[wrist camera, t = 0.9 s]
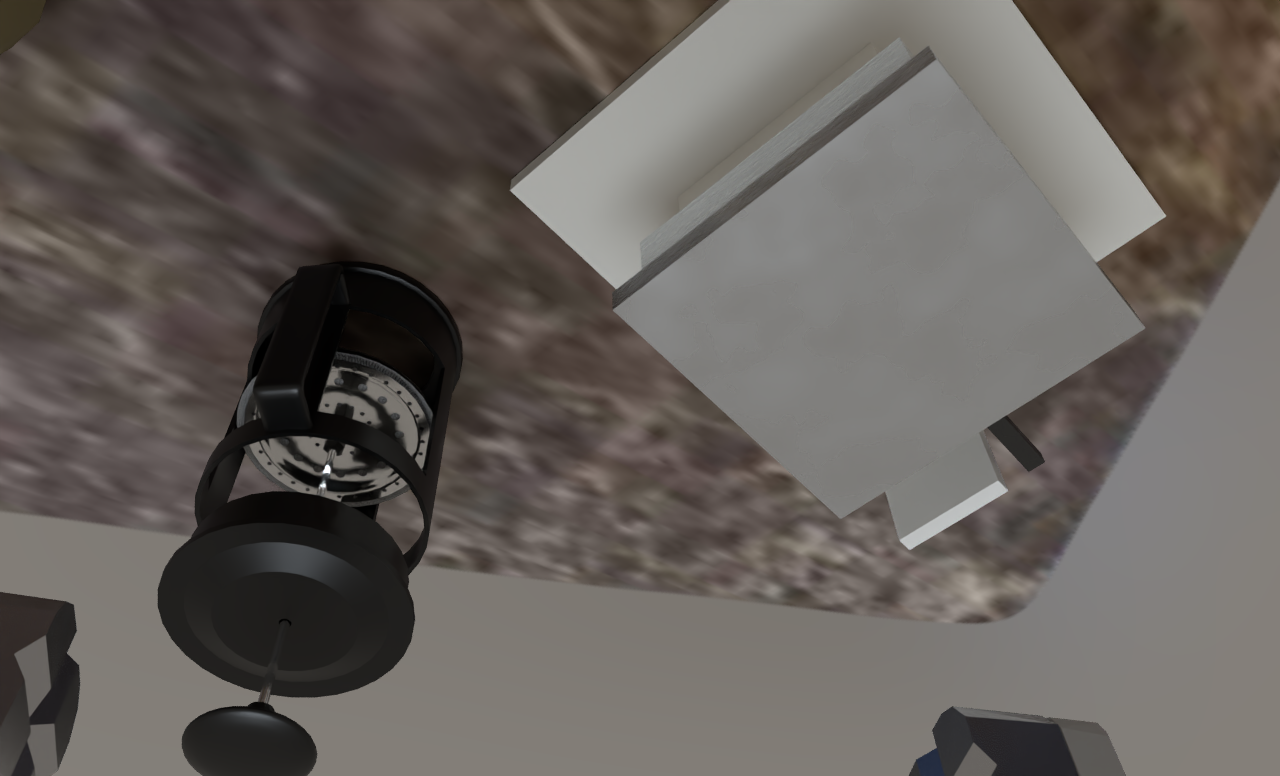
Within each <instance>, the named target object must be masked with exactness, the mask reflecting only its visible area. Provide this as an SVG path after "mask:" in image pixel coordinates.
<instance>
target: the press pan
mask: <svg viewBox="0 0 1280 776" xmlns="http://www.w3.org/2000/svg"><path fill="white" fill-rule="evenodd" d="M640 248H641V267H642V270H641V271H639V272H638V273H637V274H635V275H634V276H633V277H632V278H630V279H629V280H628V281H626V282H625V283H624V284H623V285H621V286H620V287H619V288H618V289H616V290H615V291H614V292H612V297H613V311H614V312H615V313H616V314H618V315H619V316H620V317H621V318H622V319H623V320H624V321H625V322H626V323H627V324H628V325H630V326H631V327H632V328H633V329H634V330H635V331H636V332H637V333H638V334H639V335H640V336H642V337H643V338H644V339H645V340H646V341H647V342H648V343H649V344H650V345H651V346H652V347H654V348H655V349H656V350H657V351H658V352H659V353H660V354H661V355H662V356H663V357H664V358H666V359H667V360H668V361H669V362H670V363H671V364H672V365H673V366H674V367H675V368H676V369H678V370H679V371H680V372H681V373H682V374H683V375H684V376H685V377H686V378H687V379H688V380H690V381H691V382H692V383H693V384H694V385H695V386H696V387H697V388H698V389H699V390H700V391H702V392H703V393H704V394H705V395H706V396H707V397H708V398H709V399H710V400H711V401H712V402H714V403H715V404H716V405H717V406H718V407H719V408H720V409H721V410H722V411H723V412H724V413H726V414H727V415H728V416H729V417H730V418H731V419H732V420H733V421H734V422H735V423H736V424H738V425H739V426H740V427H741V428H742V429H743V430H744V431H745V432H746V433H747V434H748V435H749V436H751V437H752V438H753V439H754V440H755V441H756V442H757V443H758V444H759V445H760V446H761V447H763V448H764V449H765V450H766V451H767V452H768V453H769V454H770V455H771V456H772V457H773V458H775V459H776V460H777V461H778V462H779V463H780V464H781V465H782V466H783V467H784V468H785V469H787V470H788V471H789V472H790V473H791V474H792V475H793V476H794V477H795V478H796V479H797V480H799V481H800V482H801V483H802V484H803V485H804V486H805V487H806V488H807V489H808V490H809V491H811V492H812V493H813V494H814V495H815V496H816V497H817V498H818V499H819V500H820V501H821V502H823V503H824V504H825V505H826V506H827V507H828V508H829V509H830V510H831V511H832V512H833V513H835V514H836V515H837V516H838V517H839V518H840V519H842V518H843V517H845V516H846V515H848V514H850V513H851V512H853V511H854V510H856V509H858V508H859V507H861V506H862V505H864V504H866V503H867V502H869V501H870V500H872V499H874V498H875V497H877V496H878V495H880V494H882V493H883V492H885V491H886V490H888V489H889V488H891V487H893V486H894V485H896V484H897V483H899V482H901V481H902V480H904V479H905V478H907V477H909V476H910V475H912V474H913V473H915V472H917V471H918V470H920V469H921V468H923V467H925V466H926V465H928V464H929V463H931V462H933V461H934V460H936V459H937V458H939V457H941V456H942V455H944V454H945V453H947V452H949V451H950V450H952V449H953V448H955V447H957V446H958V445H960V444H961V443H963V442H965V441H966V440H968V439H969V438H971V437H973V436H974V435H976V434H977V433H979V432H981V431H982V430H984V429H985V428H988V429H989V430H990V431H991V432H992V433H993V434H994V435H995V436H996V437H997V438H998V439H999V440H1000V442H1001V443H1002V444H1003V445H1004V446H1005V447H1006V448H1007V449H1008V450H1009V451H1010V452H1011V453H1012V454H1013V456H1014V457H1015V458H1016V459H1017V460H1018V461H1019V462H1020V463H1021V464H1022V465H1023V466H1024V467H1025V468H1026V469H1027V471H1028V472H1029V471H1031V470H1033V469H1034V468H1036V467H1038V466H1039V465H1041V464H1043V463H1044V462H1045V461H1044V459H1043V457H1042V454H1041V453H1040V452H1039V450H1038V449H1037V448H1036V447H1035V446H1034V445H1033V444H1032V443H1031V442H1030V441H1029V439H1028V438H1027V437H1026V436H1025V435H1024V434H1023V433H1022V432H1021V431H1020V430H1019V428H1018V427H1017V426H1016V425H1015V424H1014V423H1013V422H1012V421H1011V420H1010V419H1009V418H1008V416H1007V415H1008V414H1009V413H1011V412H1012V411H1014V410H1016V409H1017V408H1019V407H1020V406H1022V405H1024V404H1025V403H1027V402H1028V401H1030V400H1032V399H1033V398H1035V397H1036V396H1038V395H1040V394H1041V393H1043V392H1044V391H1046V390H1048V389H1049V388H1051V387H1052V386H1054V385H1056V384H1057V383H1059V382H1060V381H1062V380H1064V379H1065V378H1067V377H1068V376H1070V375H1072V374H1073V373H1075V372H1076V371H1078V370H1080V369H1081V368H1083V367H1084V366H1086V365H1087V364H1089V363H1091V362H1092V361H1094V360H1095V359H1097V358H1099V357H1100V356H1102V355H1103V354H1105V353H1107V352H1108V351H1110V350H1111V349H1113V348H1115V347H1116V346H1118V345H1119V344H1121V343H1123V342H1124V341H1126V340H1127V339H1129V338H1131V337H1132V336H1134V335H1135V334H1137V333H1139V332H1140V331H1142V330H1143V329H1145V327H1144V325H1143V324H1142V322H1141V321H1140V319H1139V317H1138V316H1137V314H1136V313H1135V311H1134V310H1133V309H1132V307H1131V306H1130V305H1129V303H1128V302H1127V301H1126V300H1125V298H1124V297H1123V296H1122V294H1121V293H1120V292H1119V291H1118V289H1117V288H1116V287H1115V285H1114V284H1113V283H1112V282H1111V280H1110V279H1109V278H1108V276H1107V275H1106V274H1105V272H1104V271H1103V270H1102V269H1101V267H1100V266H1099V265H1098V263H1097V262H1096V261H1095V260H1094V258H1093V257H1092V256H1091V254H1090V253H1089V252H1088V251H1087V249H1086V248H1085V247H1084V245H1083V244H1082V243H1081V242H1080V240H1079V239H1078V238H1077V236H1076V235H1075V234H1074V233H1073V231H1072V230H1071V229H1070V227H1069V226H1068V225H1067V223H1066V222H1065V221H1064V220H1063V218H1062V217H1061V216H1060V214H1059V213H1058V212H1057V211H1056V209H1055V208H1054V207H1053V205H1052V204H1051V203H1050V202H1049V200H1048V199H1047V198H1046V196H1045V195H1044V194H1043V193H1042V191H1041V190H1040V189H1039V187H1038V186H1037V185H1036V183H1035V182H1034V181H1033V180H1032V178H1031V177H1030V176H1029V174H1028V173H1027V172H1026V171H1025V169H1024V168H1023V167H1022V165H1021V164H1020V163H1019V162H1018V160H1017V159H1016V158H1015V156H1014V155H1013V154H1012V153H1011V151H1010V150H1009V149H1008V147H1007V146H1006V145H1005V143H1004V142H1003V141H1002V140H1001V138H1000V137H999V136H998V134H997V133H996V132H995V131H994V129H993V128H992V127H991V125H990V124H989V123H988V122H987V120H986V119H985V118H984V116H983V115H982V114H981V113H980V111H979V110H978V109H977V107H976V106H975V105H974V104H973V102H972V101H971V100H970V98H969V97H968V96H967V94H966V93H965V92H964V91H963V89H962V88H961V87H960V85H959V84H958V83H957V82H956V80H955V79H954V78H953V76H952V75H951V74H950V73H949V71H948V70H947V69H946V67H945V66H944V65H943V64H942V62H941V61H940V60H939V58H938V57H937V56H936V54H935V53H934V52H933V51H932V49H931V48H930V47H929V45H928V46H927V47H926V48H924V49H923V50H922V51H920V52H919V53H918V54H917V55H915V56H914V55H913V54H912V53H911V51H910V50H909V49H908V48H907V46H906V45H905V44H904V43H903V41H902V40H901V39H900V37H899V38H897V39H896V40H895V41H893V42H892V43H891V44H890V45H888V46H887V47H886V48H885V49H883V50H882V51H881V52H880V53H878V54H877V55H876V56H875V57H873V58H872V59H871V60H870V61H868V62H867V63H866V64H865V65H863V66H862V67H861V68H859V69H858V70H857V71H856V72H854V73H853V74H852V75H851V76H849V77H848V78H847V79H846V80H844V81H843V82H842V83H841V84H839V85H838V86H837V87H836V88H834V89H833V90H832V91H831V92H829V93H828V94H827V95H825V96H824V97H823V98H822V99H820V100H819V101H818V102H817V103H815V104H814V105H813V106H812V107H810V108H809V109H808V110H807V111H805V112H804V113H803V114H802V115H800V116H799V117H798V118H797V119H795V120H794V121H793V122H791V123H790V124H789V125H788V126H786V127H785V128H784V129H783V130H781V131H780V132H779V133H778V134H776V135H775V136H774V137H773V138H771V139H770V140H769V141H768V142H766V143H765V144H764V145H762V146H761V147H760V148H759V149H757V150H756V151H755V152H754V153H752V154H751V155H750V156H749V157H747V158H746V159H745V160H744V161H742V162H741V163H740V164H739V165H737V166H736V167H735V168H734V169H732V170H731V171H730V172H728V173H727V174H726V175H725V176H723V177H722V178H721V179H720V180H718V181H717V182H716V183H715V184H713V185H712V186H711V187H710V188H708V189H707V190H706V191H705V192H703V193H702V194H701V195H700V196H698V197H697V198H696V199H694V200H693V201H692V202H691V203H689V204H688V205H687V206H686V207H684V208H683V209H682V210H681V211H679V212H678V213H677V214H676V215H674V216H673V217H672V218H671V219H669V220H668V221H667V222H666V223H664V224H663V225H662V226H660V227H659V228H658V229H657V230H655V231H654V232H653V233H652V234H650V235H649V236H648V237H647V238H645V239H644V240H643V241H642V242H640Z"/></svg>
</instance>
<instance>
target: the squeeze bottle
mask: <svg viewBox="0 0 1280 776" xmlns="http://www.w3.org/2000/svg"><path fill="white" fill-rule="evenodd" d="M45 2H46V0H0V54H2V53H3V52H5V51H7V50H8V49H10V48H12V47H13V46H14V45H15V44H16V43H17V42H18V41H19V40H20V39H21V38H22V37H23V36H25V35H26V34H27V33H28V32H29V31H30V30H31V29H32V28H33V27H34V26H35V25H36V24H37V23H39V21H40V18H41V15H42V12H43V8H44V5H45Z"/></svg>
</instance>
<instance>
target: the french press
mask: <svg viewBox="0 0 1280 776" xmlns="http://www.w3.org/2000/svg"><path fill="white" fill-rule="evenodd" d="M349 309H351V310H357V311H363V312H368V313H372V314H375V315H377V316H380V317H383V318H386V319H389V320H391V321H392V322H394V323H396V324H398V325H400V326H402V327H404V328H405V329H407V330H408V331H409V332H411V333H412V334H413V335H414V336H416V337H417V338H418V339H420V340H421V341H422V342H423V344H424V345H425V346H426V347H427V348H428V349H429V350H430V351H431V353H432V354H433V355H434V368H433V372H432V374H431V376H430V378H429V381H428V382H427V383H426V385H425V386H424V387H423V389H422V390H420V389H419V388H418V387H417V386H416V385H415V384H414V383H413V382H412V381H411V380H410V379H409V378H408V377H407V376H406V375H404V374H403V373H402V372H400V371H399V370H398V369H396V368H395V367H394V366H392V365H390V364H388V363H386V362H384V361H382V360H380V359H379V358H376V357H374V356H371V355H368V354H366V353H363V352H360V351H356V350H351V349H347V348H341V347H338V345H339V342H340V339H341V336H342V332H343V329H344V326H345V323H346V319H347V316H348V313H349ZM462 360H463V356H462V342H461V339H460V335H459V332H458V329H457V326H456V324H455V322H454V320H453V319H452V317H451V315H450V313H449V311H448V310H447V309H446V307H445V306H444V305H443V304H442V303H441V301H440V300H439V299H438V298H437V297H436V296H435V295H434V294H433V293H432V292H430V291H429V290H428V289H427V288H426V287H424V286H423V285H422V284H421V283H419V282H417V281H415V280H414V279H412V278H410V277H408V276H406V275H405V274H403V273H401V272H398V271H395V270H392V269H389V268H387V267H384V266H380V265H374V264H369V263H364V262H336V263H330V264H324V265H314V266H302V267H299V269H298V271H297V274H296V276H294V277H293V278H291V279H289V280H288V281H286V282H285V283H284V284H283V285H282V286H281V287H280V288H279V289H278V290H277V291H276V292H275V293H274V294H273V295H272V297H271V298H270V300H269V301H268V303H267V305H266V306H265V308H264V310H263V313H262V316H261V319H260V322H259V325H258V335H257V341H256V344H255V346H254V349H253V351H252V355H251V358H250V361H249V364H248V376H247V382H246V385H245V387H244V390H243V392H242V395H241V397H240V400H239V402H238V405H237V408H236V410H235V413H234V415H233V418H232V420H231V423H230V425H229V428H228V430H227V433H226V435H225V438H224V439H223V440H222V441H221V442H220V443H219V444H218V446H217V447H216V449H215V450H214V452H213V453H212V455H211V456H210V458H209V460H208V462H207V465H206V467H205V470H204V472H203V475H202V477H201V480H200V483H199V486H198V489H197V492H196V495H195V516H196V520H197V524H198V527H197V529H196V530H195V532H194V533H193V534H192V537H191V539H189V540H188V541H187V542H186V543H185V544H184V545H183V546H181V548H179V549H178V550H177V551H176V552H175V553H174V555H173V556H172V558H171V559H170V561H169V562H168V564H167V565H166V567H165V569H164V571H163V574H162V578H161V581H160V584H159V587H158V609H159V612H160V616H161V619H162V623H163V625H164V626H165V628H166V630H167V632H168V633H169V635H170V637H171V639H172V640H173V641H174V642H175V644H176V645H177V646H178V647H179V648H180V649H181V650H182V651H183V652H184V653H185V655H186V656H188V657H189V658H190V659H191V660H193V661H194V662H195V663H197V664H198V665H199V666H200V667H202V668H203V669H205V670H207V671H209V672H210V673H212V674H214V675H215V676H217V677H219V678H221V679H222V680H225V681H227V682H230V683H232V684H235V685H237V686H240V687H243V688H246V689H249V690H253V691H257V692H260V696H259V699H258V702H253V703H251V704H249V705H248V706H232V707H224V708H219V709H215V710H212V711H209V712H206V713H205V714H202V715H200V716H199V717H197V718H196V719H195V720H193V721H192V722H191V723H190V724H189V725H188V726H187V728H186V729H185V731H184V734H183V736H182V749H183V752H184V756H185V757H186V759H187V761H188V762H189V764H190V765H191V766H192V767H193V768H194V769H195V770H196V771H197V772H199V773H200V774H201V775H203V776H307V775H308V774H309V773H310V771H312V769H313V767H314V765H315V763H316V758H317V751H316V746H315V744H314V742H313V740H312V738H311V736H310V735H309V734H308V733H307V732H306V730H305V729H304V728H302V727H301V726H300V725H299V724H297V723H296V722H295V721H293V720H291V719H289V718H287V717H286V716H284V715H281V714H278V713H276V712H275V711H274V709H273V707H272V706H271V705H269V704H268V702H269V699H270V695H277V696H285V697H321V696H329V695H337V694H341V693H344V692H348V691H352V690H355V689H358V688H360V687H363V686H365V685H367V684H369V683H371V682H374V681H376V680H377V679H379V678H380V677H382V676H383V675H384V674H386V673H387V672H388V671H390V670H391V669H392V668H393V667H394V666H395V665H396V664H397V663H398V662H399V660H400V659H401V658H402V657H403V656H404V654H405V652H406V650H407V648H408V646H409V644H410V642H411V639H412V633H413V627H414V622H415V614H414V604H413V600H412V597H411V595H410V592H409V590H408V584H409V578H408V575H409V574H410V573H411V572H412V570H413V569H414V568H415V567H416V566H417V565H418V563H419V562H420V560H421V558H422V556H423V554H424V552H425V550H426V548H427V542H428V537H429V531H430V525H431V519H432V513H433V507H434V501H435V495H436V489H437V482H438V476H439V470H440V464H441V458H442V452H443V446H444V440H445V434H446V428H447V422H448V416H449V409H450V403H451V397H452V393H453V391H454V388H455V386H456V384H457V382H458V380H459V377H460V371H461V366H462ZM245 452H246V454H247V455H248V457H249V458H250V459H251V461H252V462H253V463H254V465H255V466H256V467H257V468H258V469H259V470H260V471H261V472H262V473H263V474H264V475H265V476H266V477H267V478H268V479H269V480H271V481H272V482H274V483H275V484H277V485H278V486H280V487H281V488H283V489H284V490H286V491H288V492H282V491H272V492H265V493H258V494H251V495H248V496H245V497H242V498H238V499H235V500H232V501H230V502H228V503H227V501H228V498H229V496H230V493H231V490H232V488H233V485H234V482H235V479H236V477H237V474H238V471H239V469H240V466H241V463H242V461H243V458H244V455H245ZM209 475H210V476H209ZM410 489H411V490H412V492H413V493H414V495H415V496H416V498H417V500H418V502H419V505H420V508H421V511H422V513H423V519H424V529H423V531H422V533H421V535H420V537H419V539H418V540H417V541H416V543H415V544H414V545H413V546H412V547H411V549H410V550H409V551H408V552H407V553H405V554H404V555H403V554H402V551H401V550H400V548H399V547H398V545H397V544H396V542H395V541H394V540H393V538H392V537H391V536H390V535H389V534H388V533H387V532H386V531H385V530H384V529H383V528H382V527H381V526H380V525H379V524H378V523H377V522H375V520H376V515H377V511H378V506H379V503H381V502H384V501H388V500H391V499H393V498H395V497H397V496H399V495H401V494H403V493H405V492H407V491H408V490H410Z"/></svg>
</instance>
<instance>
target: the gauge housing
mask: <svg viewBox="0 0 1280 776" xmlns="http://www.w3.org/2000/svg"><path fill="white" fill-rule="evenodd" d="M899 37H900V39H901V40H902V41H903V43H904V44H905V45H906V46H907V48H908V49H909V50H910V51H911V53H912V54H913V55H914V56H915V55H917V54H918V53H919V52H920V51H922V50H923V49H924V48H926V47H927V46H928V45H929V47H930V48H931V49H932V51H933V52H934V53H935V54H936V56H937V57H938V58H939V60H940V61H941V62H942V64H943V65H944V66H945V67H946V69H947V70H948V71H949V73H950V74H951V75H952V76H953V78H954V79H955V80H956V82H957V83H958V84H959V85H960V87H961V88H962V89H963V91H964V92H965V93H966V94H967V96H968V97H969V98H970V100H971V101H972V102H973V104H974V105H975V106H976V107H977V109H978V110H979V111H980V113H981V114H982V115H983V116H984V118H985V119H986V120H987V122H988V123H989V124H990V125H991V127H992V128H993V129H994V131H995V132H996V133H997V134H998V136H999V137H1000V138H1001V140H1002V141H1003V142H1004V143H1005V145H1006V146H1007V147H1008V149H1009V150H1010V151H1011V153H1012V154H1013V155H1014V156H1015V158H1016V159H1017V160H1018V162H1019V163H1020V164H1021V165H1022V167H1023V168H1024V169H1025V171H1026V172H1027V173H1028V174H1029V176H1030V177H1031V178H1032V180H1033V181H1034V182H1035V183H1036V185H1037V186H1038V187H1039V189H1040V190H1041V191H1042V193H1043V194H1044V195H1045V196H1046V198H1047V199H1048V200H1049V202H1050V203H1051V204H1052V205H1053V207H1054V208H1055V209H1056V211H1057V212H1058V213H1059V214H1060V216H1061V217H1062V218H1063V220H1064V221H1065V222H1066V223H1067V225H1068V226H1069V227H1070V229H1071V230H1072V231H1073V233H1074V234H1075V235H1076V236H1077V238H1078V239H1079V240H1080V242H1081V243H1082V244H1083V245H1084V247H1085V248H1086V249H1087V251H1088V252H1089V253H1090V254H1091V256H1092V257H1093V258H1094V260H1095V261H1096V262H1098V261H1099V260H1101V259H1102V258H1104V257H1105V256H1107V255H1108V254H1110V253H1111V252H1113V251H1114V250H1116V249H1117V248H1119V247H1120V246H1122V245H1123V244H1125V243H1127V242H1128V241H1130V240H1131V239H1133V238H1134V237H1136V236H1137V235H1139V234H1140V233H1142V232H1143V231H1145V230H1146V229H1148V228H1149V227H1151V226H1152V225H1154V224H1155V223H1157V222H1158V221H1160V220H1161V219H1163V218H1164V217H1166V215H1165V214H1164V212H1163V211H1162V210H1161V208H1160V207H1159V205H1158V204H1157V203H1156V201H1155V200H1154V198H1153V197H1152V196H1151V194H1150V193H1149V191H1148V190H1147V189H1146V187H1145V186H1144V184H1143V183H1142V182H1141V180H1140V179H1139V177H1138V176H1137V175H1136V173H1135V172H1134V170H1133V169H1132V168H1131V166H1130V165H1129V163H1128V162H1127V161H1126V159H1125V158H1124V156H1123V155H1122V154H1121V152H1120V151H1119V149H1118V148H1117V147H1116V145H1115V144H1114V142H1113V141H1112V140H1111V138H1110V137H1109V135H1108V134H1107V133H1106V131H1105V130H1104V128H1103V127H1102V126H1101V124H1100V123H1099V121H1098V120H1097V119H1096V117H1095V116H1094V114H1093V113H1092V112H1091V110H1090V109H1089V107H1088V106H1087V105H1086V103H1085V102H1084V100H1083V99H1082V98H1081V96H1080V95H1079V93H1078V92H1077V91H1076V89H1075V88H1074V86H1073V85H1072V84H1071V82H1070V81H1069V79H1068V78H1067V77H1066V75H1065V74H1064V72H1063V71H1062V70H1061V68H1060V67H1059V65H1058V64H1057V63H1056V61H1055V60H1054V58H1053V57H1052V56H1051V54H1050V53H1049V51H1048V50H1047V49H1046V47H1045V46H1044V44H1043V43H1042V42H1041V40H1040V39H1039V37H1038V36H1037V35H1036V33H1035V32H1034V30H1033V29H1032V28H1031V26H1030V25H1029V23H1028V22H1027V21H1026V19H1025V18H1024V16H1023V15H1022V14H1021V12H1020V11H1019V9H1018V8H1017V7H1016V5H1015V4H1014V2H1013V1H1012V0H718V1H717V2H716V3H715V4H713V5H712V6H711V7H710V8H709V9H708V10H706V11H705V12H704V13H703V14H702V15H701V16H700V17H698V18H697V19H696V20H695V21H694V22H693V23H692V24H690V25H689V26H688V27H687V28H686V29H685V30H683V31H682V32H681V33H680V34H679V35H678V36H677V37H675V38H674V39H673V40H672V41H671V42H670V43H668V44H667V45H666V46H665V47H664V48H663V49H662V50H660V51H659V52H658V53H657V54H656V55H655V56H653V57H652V58H651V59H650V60H649V61H648V62H647V63H645V64H644V65H643V66H642V67H641V68H640V69H638V70H637V71H636V72H635V73H634V74H633V75H632V76H630V77H629V78H628V79H627V80H626V81H625V82H623V83H622V84H621V85H620V86H619V87H618V88H617V89H615V90H614V91H613V92H612V93H611V94H610V95H608V96H607V97H606V98H605V99H604V100H603V101H602V102H600V103H599V104H598V105H597V106H596V107H595V108H593V109H592V110H591V111H590V112H589V113H588V114H587V115H585V116H584V117H583V118H582V119H581V120H580V121H578V122H577V123H576V124H575V125H574V126H573V127H572V128H570V129H569V130H568V131H567V132H566V133H565V134H563V135H562V136H561V137H560V138H559V139H558V140H557V141H555V142H554V143H553V144H552V145H551V146H550V147H548V148H547V149H546V150H545V151H544V152H543V153H542V154H540V155H539V156H538V157H537V158H536V159H535V160H533V161H532V162H531V163H530V164H529V165H528V166H527V167H525V168H524V169H523V170H522V171H521V172H520V173H518V174H517V175H516V176H515V177H514V178H513V179H512V180H511V187H510V191H511V192H512V193H513V194H514V195H515V196H517V197H518V198H519V199H520V200H521V201H522V202H523V203H524V204H525V205H526V206H527V207H528V208H529V209H530V210H532V211H533V212H534V213H535V214H536V215H537V216H538V217H539V218H540V219H541V220H542V221H543V222H544V223H546V224H547V225H548V226H549V227H550V228H551V229H552V230H553V231H554V232H555V233H556V234H557V235H558V236H560V237H561V238H562V239H563V240H564V241H565V242H566V243H567V244H568V245H569V246H570V247H571V248H572V249H573V250H575V251H576V252H577V253H578V254H579V255H580V256H581V257H582V258H583V259H584V260H585V261H586V262H587V263H589V264H590V265H591V266H592V267H593V268H594V269H595V270H596V271H597V272H598V273H599V274H600V275H601V276H603V277H604V278H605V279H606V280H607V281H608V282H609V283H610V284H611V285H612V286H613V287H614V288H615V289H618V288H619V287H620V286H621V285H623V284H624V283H625V282H626V281H628V280H629V279H630V278H632V277H633V276H634V275H635V274H637V273H638V272H639V271H641V270H642V267H641V248H640V242H642V241H643V240H644V239H645V238H647V237H648V236H649V235H650V234H652V233H653V232H654V231H655V230H657V229H658V228H659V227H660V226H662V225H663V224H664V223H666V222H667V221H668V220H669V219H671V218H672V217H673V216H674V215H676V214H677V213H678V212H679V211H681V210H682V209H683V208H684V207H686V206H687V205H688V204H689V203H691V202H692V201H693V200H694V199H696V198H697V197H698V196H700V195H701V194H702V193H703V192H705V191H706V190H707V189H708V188H710V187H711V186H712V185H713V184H715V183H716V182H717V181H718V180H720V179H721V178H722V177H723V176H725V175H726V174H727V173H728V172H730V171H731V170H732V169H734V168H735V167H736V166H737V165H739V164H740V163H741V162H742V161H744V160H745V159H746V158H747V157H749V156H750V155H751V154H752V153H754V152H755V151H756V150H757V149H759V148H760V147H761V146H762V145H764V144H765V143H766V142H768V141H769V140H770V139H771V138H773V137H774V136H775V135H776V134H778V133H779V132H780V131H781V130H783V129H784V128H785V127H786V126H788V125H789V124H790V123H791V122H793V121H794V120H795V119H797V118H798V117H799V116H800V115H802V114H803V113H804V112H805V111H807V110H808V109H809V108H810V107H812V106H813V105H814V104H815V103H817V102H818V101H819V100H820V99H822V98H823V97H824V96H825V95H827V94H828V93H829V92H831V91H832V90H833V89H834V88H836V87H837V86H838V85H839V84H841V83H842V82H843V81H844V80H846V79H847V78H848V77H849V76H851V75H852V74H853V73H854V72H856V71H857V70H858V69H859V68H861V67H862V66H863V65H865V64H866V63H867V62H868V61H870V60H871V59H872V58H873V57H875V56H876V55H877V54H878V53H880V52H881V51H882V50H883V49H885V48H886V47H887V46H888V45H890V44H891V43H892V42H893V41H895V40H896V39H897V38H899ZM1007 491H1008V489H1007V486H1006V484H1005V482H1004V479H1003V477H1002V474H1001V472H1000V469H999V467H998V464H997V462H996V459H995V457H994V454H993V452H992V450H991V447H990V445H989V442H988V440H987V437H986V435H985V432H984V430H982V431H981V432H979V433H977V434H976V435H974V436H973V437H971V438H969V439H968V440H966V441H965V442H963V443H961V444H960V445H958V446H957V447H955V448H953V449H952V450H950V451H949V452H947V453H945V454H944V455H942V456H941V457H939V458H937V459H936V460H934V461H933V462H931V463H929V464H928V465H926V466H925V467H923V468H921V469H920V470H918V471H917V472H915V473H913V474H912V475H910V476H909V477H907V478H905V479H904V480H902V481H901V482H899V483H897V484H896V485H894V486H893V487H891V488H889V489H888V490H886V491H885V492H886V496H887V499H888V503H889V506H890V510H891V513H892V517H893V520H894V524H895V527H896V531H897V534H898V538H899V541H901V542H902V543H903V544H904V545H905V546H906V547H907V548H908V549H909V550H910V549H912V548H914V547H915V546H917V545H919V544H920V543H922V542H924V541H925V540H927V539H929V538H930V537H932V536H934V535H935V534H937V533H939V532H940V531H942V530H944V529H945V528H947V527H949V526H951V525H952V524H954V523H956V522H957V521H959V520H961V519H962V518H964V517H966V516H967V515H969V514H971V513H972V512H974V511H976V510H977V509H979V508H981V507H982V506H984V505H986V504H987V503H989V502H991V501H992V500H994V499H996V498H997V497H999V496H1001V495H1002V494H1004V493H1006V492H1007Z"/></svg>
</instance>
